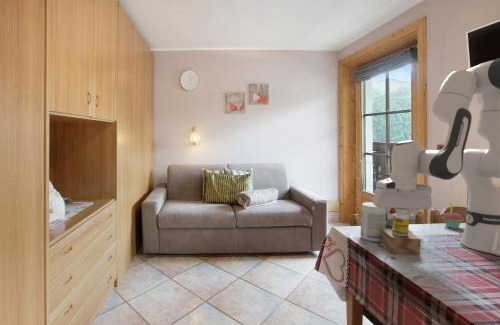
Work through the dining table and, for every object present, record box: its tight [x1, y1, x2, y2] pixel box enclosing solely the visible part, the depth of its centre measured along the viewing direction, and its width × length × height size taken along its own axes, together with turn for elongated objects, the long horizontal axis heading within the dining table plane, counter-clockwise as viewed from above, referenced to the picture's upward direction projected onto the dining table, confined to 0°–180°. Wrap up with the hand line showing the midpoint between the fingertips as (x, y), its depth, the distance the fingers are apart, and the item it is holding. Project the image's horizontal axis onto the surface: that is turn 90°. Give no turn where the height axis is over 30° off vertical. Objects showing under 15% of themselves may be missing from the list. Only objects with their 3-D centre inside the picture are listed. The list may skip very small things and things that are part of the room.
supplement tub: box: [360, 201, 386, 243], centre depth 115 cm, size 10×10×15 cm
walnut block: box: [380, 228, 422, 256], centre depth 105 cm, size 10×10×6 cm
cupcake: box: [442, 203, 465, 229], centre depth 133 cm, size 9×8×12 cm
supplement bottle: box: [391, 208, 410, 236], centre depth 104 cm, size 5×5×10 cm
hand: (400, 219), depth 104 cm, fingers open, 7 cm apart
